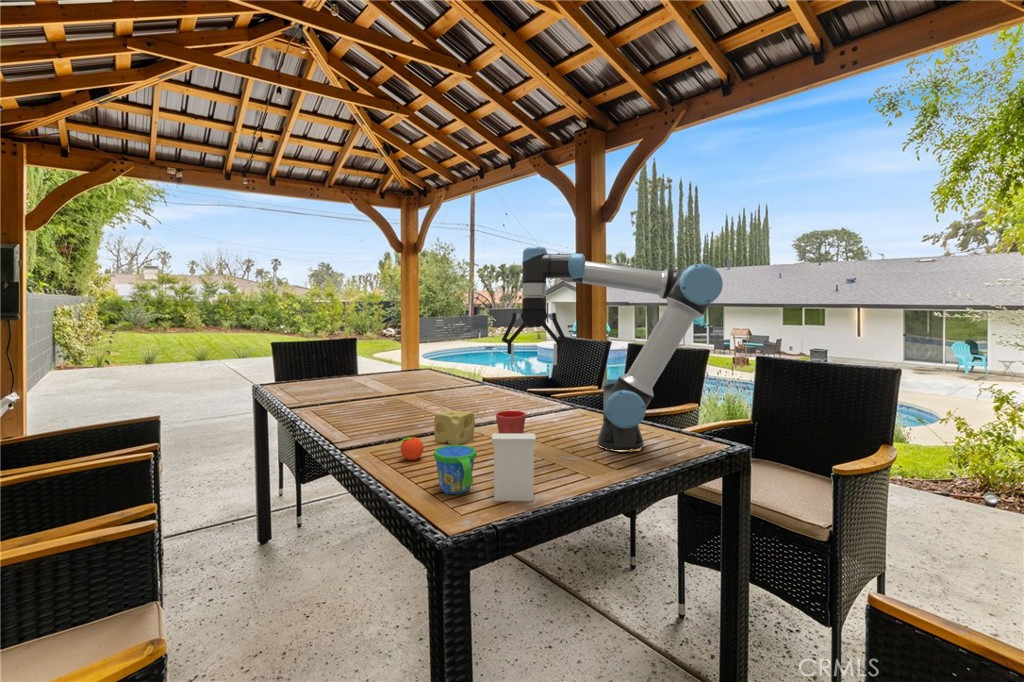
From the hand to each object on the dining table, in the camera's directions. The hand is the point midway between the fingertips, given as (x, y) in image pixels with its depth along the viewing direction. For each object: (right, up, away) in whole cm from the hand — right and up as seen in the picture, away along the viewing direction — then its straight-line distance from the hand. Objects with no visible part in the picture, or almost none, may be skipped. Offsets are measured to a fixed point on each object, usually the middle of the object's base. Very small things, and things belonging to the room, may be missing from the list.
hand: (533, 364), depth 148 cm
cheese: (-27, -28, +17) cm, 43 cm away
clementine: (-38, -29, -5) cm, 48 cm away
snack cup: (-21, -31, -29) cm, 47 cm away
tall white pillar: (-7, -30, -30) cm, 44 cm away
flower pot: (-7, -28, +18) cm, 34 cm away
